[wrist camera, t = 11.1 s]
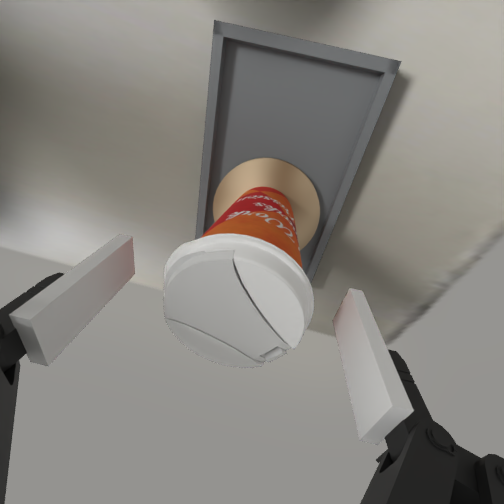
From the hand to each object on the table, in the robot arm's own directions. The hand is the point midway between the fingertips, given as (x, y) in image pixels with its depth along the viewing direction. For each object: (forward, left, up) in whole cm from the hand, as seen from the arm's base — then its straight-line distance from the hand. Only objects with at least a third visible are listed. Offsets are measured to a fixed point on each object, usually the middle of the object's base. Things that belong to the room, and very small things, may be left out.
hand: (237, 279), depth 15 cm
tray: (0, +3, -13) cm, 14 cm away
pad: (+1, 0, -13) cm, 13 cm away
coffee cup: (0, 0, -12) cm, 12 cm away
